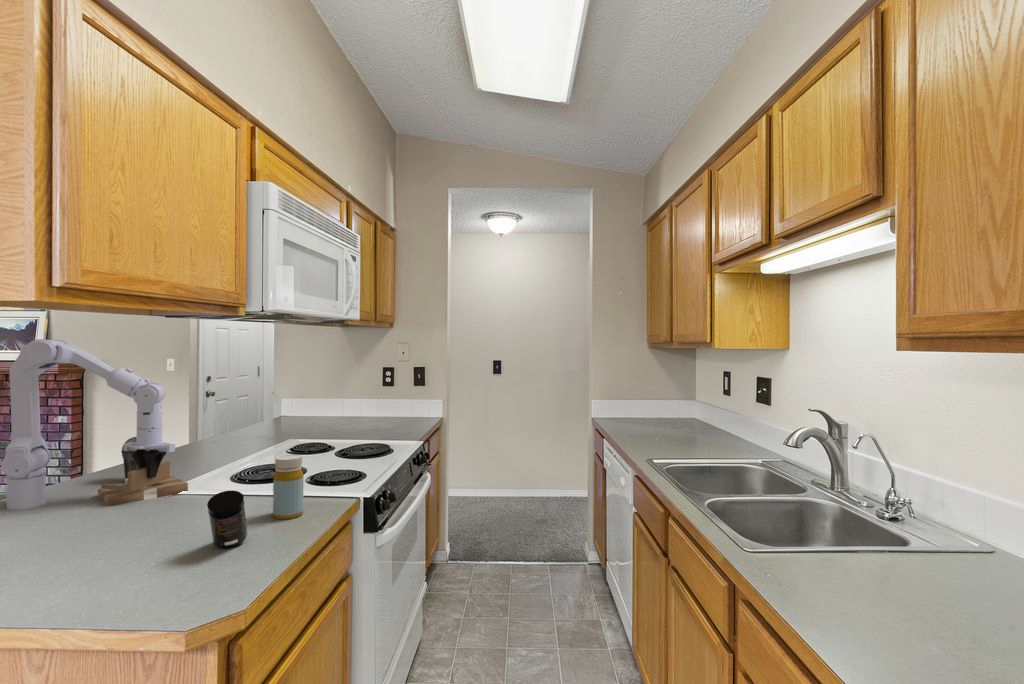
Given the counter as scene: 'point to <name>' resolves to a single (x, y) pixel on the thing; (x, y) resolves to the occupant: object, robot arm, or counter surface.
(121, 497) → the wooden block stack
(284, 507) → the bottle
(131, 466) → the beverage cup
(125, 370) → the robot arm
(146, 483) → the wooden l-shaped bracket
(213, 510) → the supplement container
